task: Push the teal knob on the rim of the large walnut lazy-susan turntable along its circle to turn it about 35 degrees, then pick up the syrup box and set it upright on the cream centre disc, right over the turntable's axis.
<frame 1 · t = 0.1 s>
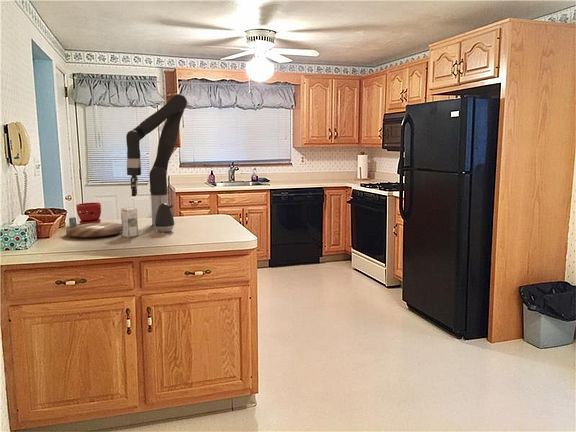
hand: (134, 195, 266), 17 cm above the table, tool pointing down, fingers open, 8 cm apart
turntable: (95, 224, 245), point 5 cm above the table, hinge at 0.0°
pump dispenser: (165, 231, 251), on the table
syrup box: (130, 236, 240), on the table
plant pot: (90, 224, 274), on the table
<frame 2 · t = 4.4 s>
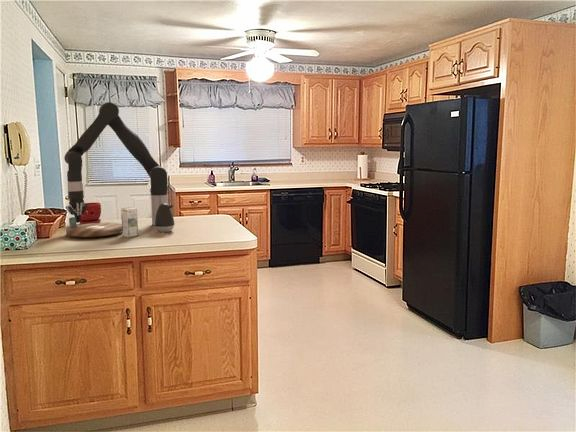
hand: (78, 222, 250), 5 cm above the table, tool pointing down, fingers closed
turntable: (95, 224, 245), point 5 cm above the table, hinge at 0.2°, touching gripper
everything else where it was.
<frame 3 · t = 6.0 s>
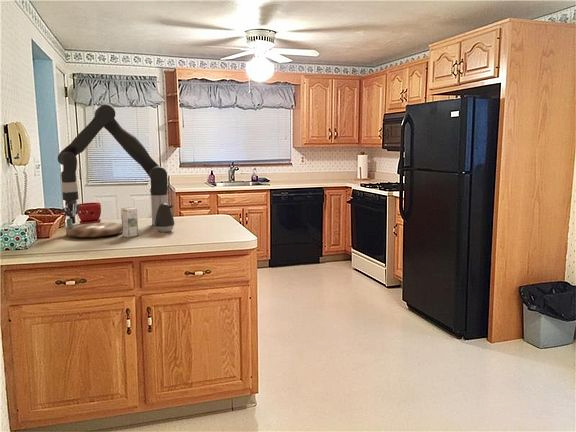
hand: (72, 223, 246), 5 cm above the table, tool pointing down, fingers closed
turntable: (95, 224, 245), point 5 cm above the table, hinge at 18.5°, touching gripper
everything else where it was.
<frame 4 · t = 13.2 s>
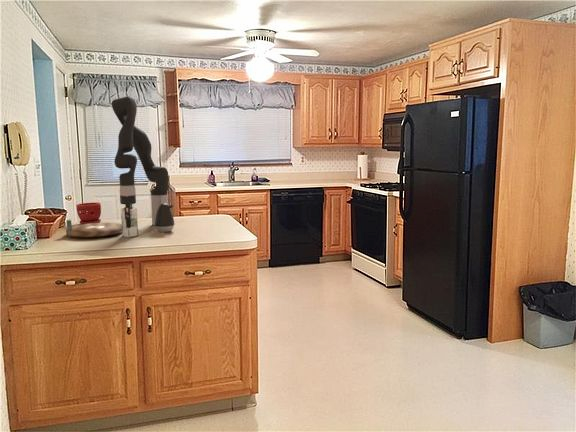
hand: (129, 226, 239), 5 cm above the table, tool pointing down, fingers closed on syrup box, 7 cm apart
turntable: (95, 224, 245), point 5 cm above the table, hinge at 35.6°
syrup box: (130, 236, 240), on the table, touching gripper
everything else where it was.
when the fingers open (10 cm above the table, at t = 20.4 s): syrup box drops 1 cm, resting on turntable.
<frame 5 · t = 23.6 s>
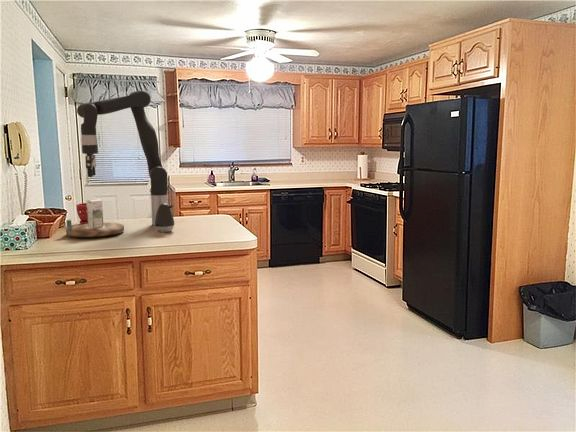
hand: (91, 176, 240), 30 cm above the table, tool pointing down, fingers open, 8 cm apart
turntable: (95, 224, 245), point 5 cm above the table, hinge at 35.6°, touching syrup box
syrup box: (95, 227, 245), point 3 cm above the table, touching turntable
everything else where it was.
at the end: syrup box 0.2 cm from the turntable (horizontally); syrup box tilted 0°; turntable at +36° (first picture: +0°) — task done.
